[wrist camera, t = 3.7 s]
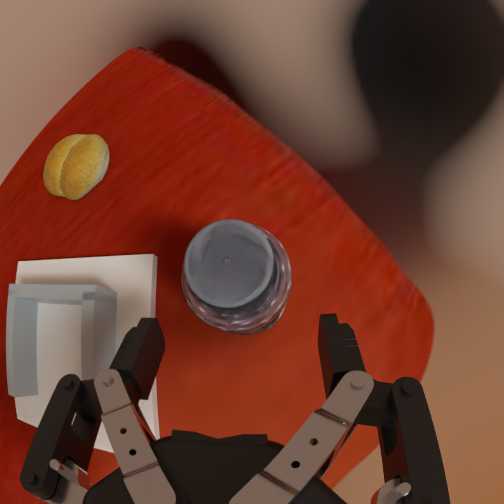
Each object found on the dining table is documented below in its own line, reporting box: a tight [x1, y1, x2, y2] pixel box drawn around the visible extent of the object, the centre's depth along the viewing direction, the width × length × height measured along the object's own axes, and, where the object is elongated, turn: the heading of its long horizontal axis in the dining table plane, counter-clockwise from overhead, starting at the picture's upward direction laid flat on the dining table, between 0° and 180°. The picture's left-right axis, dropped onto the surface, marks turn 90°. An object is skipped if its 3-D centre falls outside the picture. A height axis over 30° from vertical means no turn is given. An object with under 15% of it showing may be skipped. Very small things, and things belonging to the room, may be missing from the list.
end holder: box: [6, 254, 160, 453], centre depth 21 cm, size 18×18×4 cm
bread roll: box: [43, 134, 109, 200], centre depth 27 cm, size 8×9×4 cm
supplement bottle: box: [181, 219, 292, 335], centre depth 18 cm, size 6×6×11 cm
